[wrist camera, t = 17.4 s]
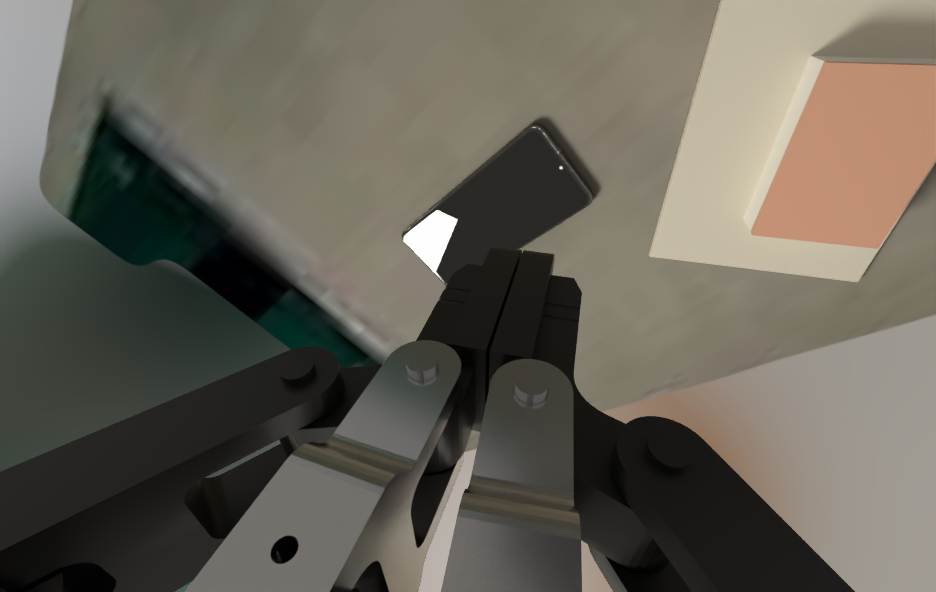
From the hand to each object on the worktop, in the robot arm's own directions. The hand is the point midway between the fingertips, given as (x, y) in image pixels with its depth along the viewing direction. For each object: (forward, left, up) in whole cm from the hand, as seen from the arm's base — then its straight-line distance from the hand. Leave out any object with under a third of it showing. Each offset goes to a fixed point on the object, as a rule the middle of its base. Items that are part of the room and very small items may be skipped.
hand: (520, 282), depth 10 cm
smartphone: (+10, -6, -24) cm, 26 cm away
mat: (+3, +14, -23) cm, 27 cm away
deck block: (+3, +12, -21) cm, 25 cm away
